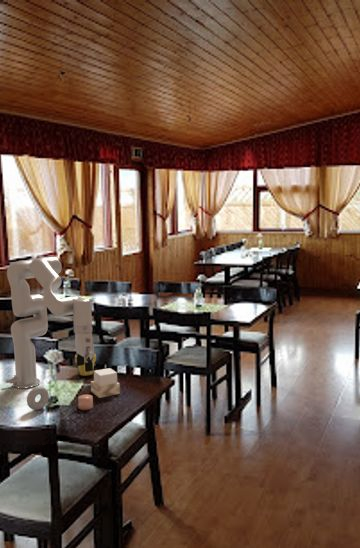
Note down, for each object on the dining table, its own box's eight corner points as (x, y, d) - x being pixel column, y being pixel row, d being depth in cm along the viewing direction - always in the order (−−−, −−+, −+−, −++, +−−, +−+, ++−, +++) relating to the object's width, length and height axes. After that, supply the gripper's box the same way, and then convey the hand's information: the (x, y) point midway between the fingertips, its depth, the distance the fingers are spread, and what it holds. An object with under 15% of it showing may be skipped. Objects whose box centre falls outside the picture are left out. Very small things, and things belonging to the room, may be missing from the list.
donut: (29, 414, 226) (28, 390, 225) (25, 411, 229) (24, 388, 227) (51, 407, 233) (50, 384, 232) (46, 405, 236) (45, 382, 234)
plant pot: (75, 371, 281) (74, 352, 280) (96, 369, 283) (95, 351, 282) (75, 377, 271) (75, 358, 270) (96, 376, 273) (96, 357, 272)
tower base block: (99, 398, 244) (99, 387, 243) (91, 391, 252) (90, 381, 252) (120, 394, 249) (119, 383, 248) (111, 387, 257) (110, 377, 257)
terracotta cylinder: (81, 411, 229) (81, 400, 229) (76, 406, 234) (76, 396, 234) (95, 408, 232) (94, 397, 232) (89, 403, 237) (89, 393, 237)
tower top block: (100, 386, 245) (100, 375, 244) (94, 381, 251) (93, 370, 251) (117, 383, 248) (116, 372, 248) (110, 378, 255) (110, 368, 255)
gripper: (99, 331, 223) (101, 372, 225) (84, 323, 238) (85, 361, 240) (81, 333, 219) (83, 375, 221) (67, 325, 234) (69, 364, 236)
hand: (84, 368), depth 231 cm, fingers open, 9 cm apart
